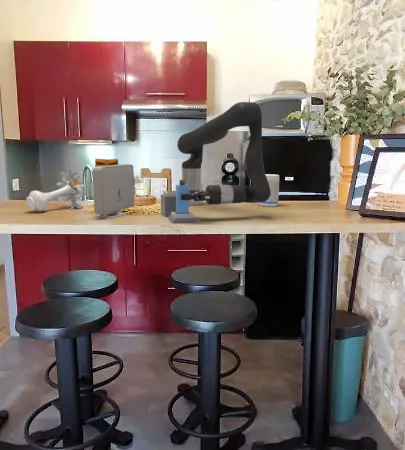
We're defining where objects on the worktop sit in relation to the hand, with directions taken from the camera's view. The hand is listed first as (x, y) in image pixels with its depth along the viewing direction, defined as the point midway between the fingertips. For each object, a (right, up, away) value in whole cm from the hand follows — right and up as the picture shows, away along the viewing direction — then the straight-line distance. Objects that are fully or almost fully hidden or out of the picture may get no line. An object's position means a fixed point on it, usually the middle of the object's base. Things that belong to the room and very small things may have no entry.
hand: (178, 195), depth 161 cm
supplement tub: (+40, -2, +44) cm, 60 cm away
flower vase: (-55, -4, +28) cm, 62 cm away
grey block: (-3, -7, +16) cm, 18 cm away
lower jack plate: (+1, -9, +2) cm, 10 cm away
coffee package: (-35, -2, +40) cm, 53 cm away
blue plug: (+1, -8, +2) cm, 8 cm away
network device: (-27, -7, +17) cm, 32 cm away
